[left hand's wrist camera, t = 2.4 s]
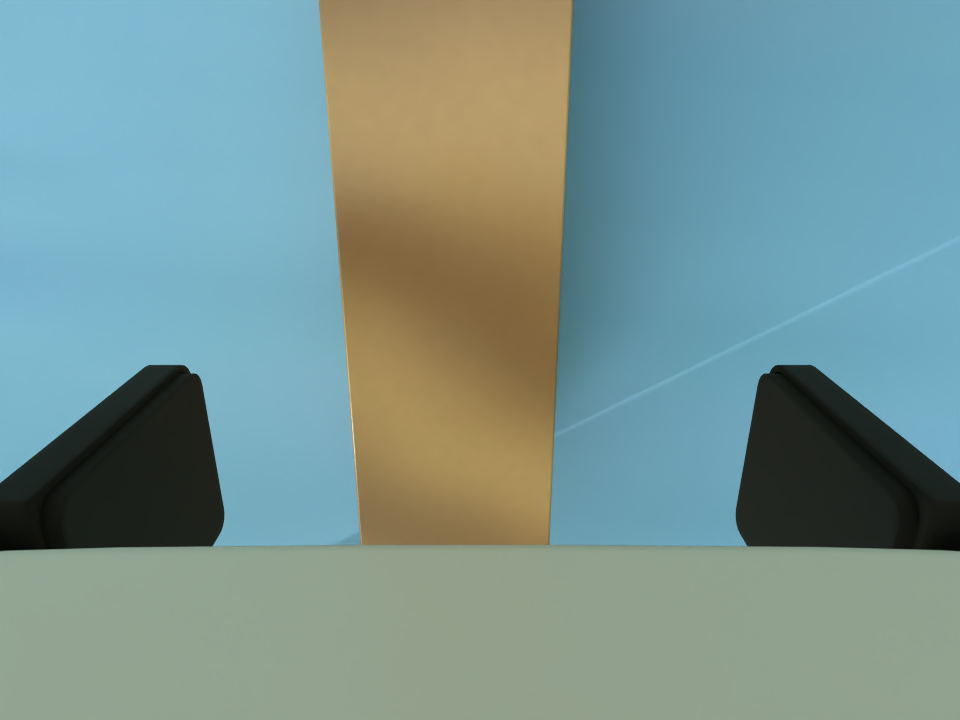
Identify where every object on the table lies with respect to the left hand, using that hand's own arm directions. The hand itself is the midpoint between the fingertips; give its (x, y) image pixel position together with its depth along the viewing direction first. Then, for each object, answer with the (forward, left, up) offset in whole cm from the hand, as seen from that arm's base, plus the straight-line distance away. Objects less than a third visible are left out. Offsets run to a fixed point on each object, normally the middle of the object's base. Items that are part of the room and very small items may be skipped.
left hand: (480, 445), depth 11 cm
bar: (+23, -4, -11) cm, 26 cm away
